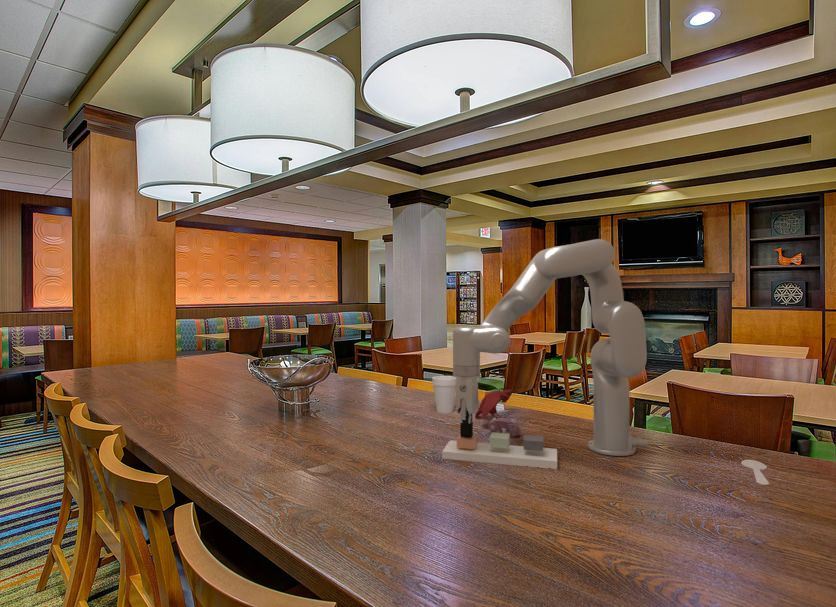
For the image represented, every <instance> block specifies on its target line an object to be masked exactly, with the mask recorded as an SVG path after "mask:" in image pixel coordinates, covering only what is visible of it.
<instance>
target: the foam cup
mask: <svg viewBox="0 0 836 607" xmlns="http://www.w3.org/2000/svg"><path fill="white" fill-rule="evenodd" d="M456 380H457V378H456V377H453V375H434V376H432V386H433V394H434V400H435V401H434V402H435V408H436V413H438V412H439V414H451V412H452V413H453V412H454V409H455V408H454V406H455V401H456Z"/></svg>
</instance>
